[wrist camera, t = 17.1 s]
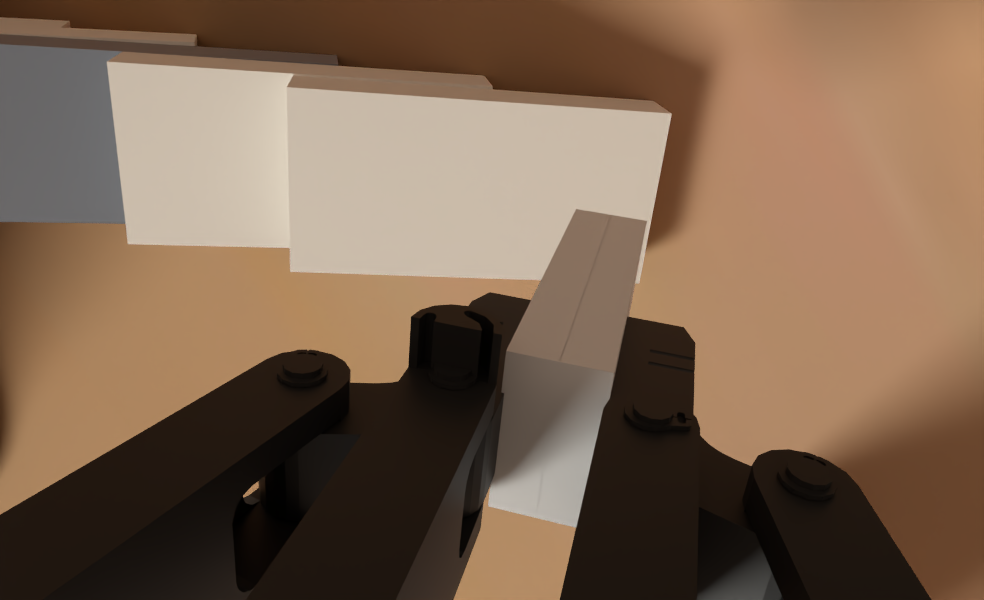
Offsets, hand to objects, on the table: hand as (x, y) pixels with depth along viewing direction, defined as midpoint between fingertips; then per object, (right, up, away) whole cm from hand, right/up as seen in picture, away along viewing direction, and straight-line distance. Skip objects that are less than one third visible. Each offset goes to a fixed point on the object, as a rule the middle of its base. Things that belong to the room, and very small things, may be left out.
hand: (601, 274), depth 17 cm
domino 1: (-7, +4, +8) cm, 11 cm away
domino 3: (+2, +3, +6) cm, 7 cm away
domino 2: (-3, +3, +7) cm, 8 cm away
